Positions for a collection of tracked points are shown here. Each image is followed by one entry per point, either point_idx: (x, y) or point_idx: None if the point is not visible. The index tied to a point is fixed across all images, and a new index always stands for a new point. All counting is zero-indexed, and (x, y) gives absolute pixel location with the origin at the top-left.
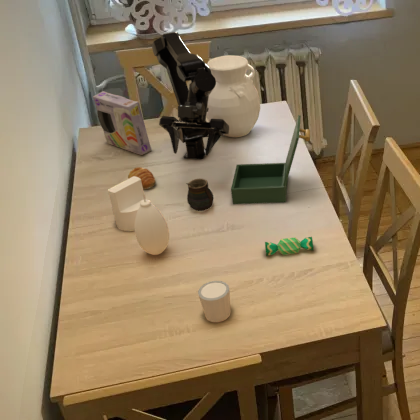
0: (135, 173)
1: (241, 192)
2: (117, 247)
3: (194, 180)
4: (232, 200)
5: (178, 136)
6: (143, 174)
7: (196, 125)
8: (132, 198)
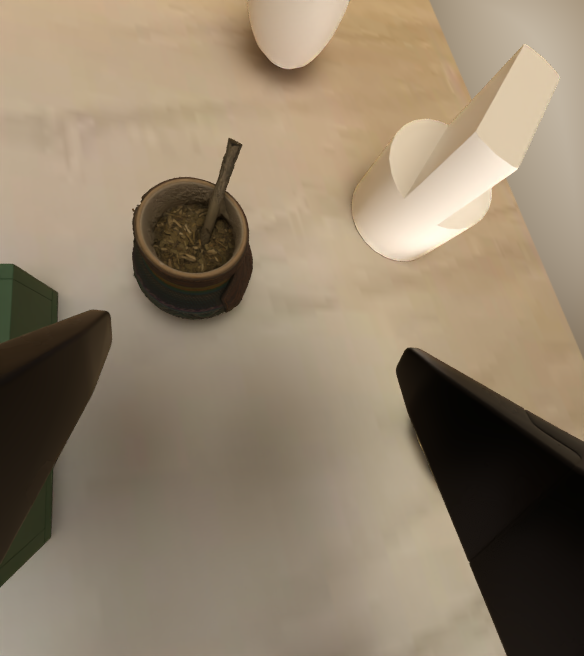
0: None
1: None
2: (389, 106)
3: (222, 267)
4: (47, 286)
5: (497, 567)
6: None
7: None
8: (444, 143)
